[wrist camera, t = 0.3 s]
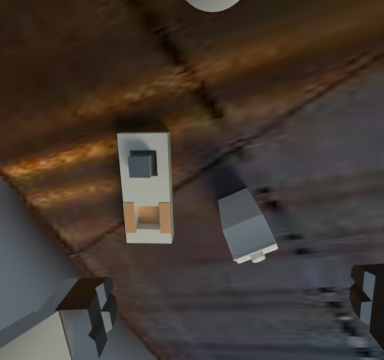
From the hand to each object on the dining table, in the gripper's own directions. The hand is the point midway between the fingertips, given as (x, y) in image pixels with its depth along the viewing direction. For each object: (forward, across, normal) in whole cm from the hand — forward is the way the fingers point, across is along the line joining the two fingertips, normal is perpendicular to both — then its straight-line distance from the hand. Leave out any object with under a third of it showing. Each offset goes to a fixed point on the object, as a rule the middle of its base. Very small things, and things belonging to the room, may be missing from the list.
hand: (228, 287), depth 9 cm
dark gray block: (+45, +13, +3) cm, 47 cm away
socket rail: (+46, +14, +9) cm, 49 cm away
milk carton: (+46, -6, +16) cm, 49 cm away
